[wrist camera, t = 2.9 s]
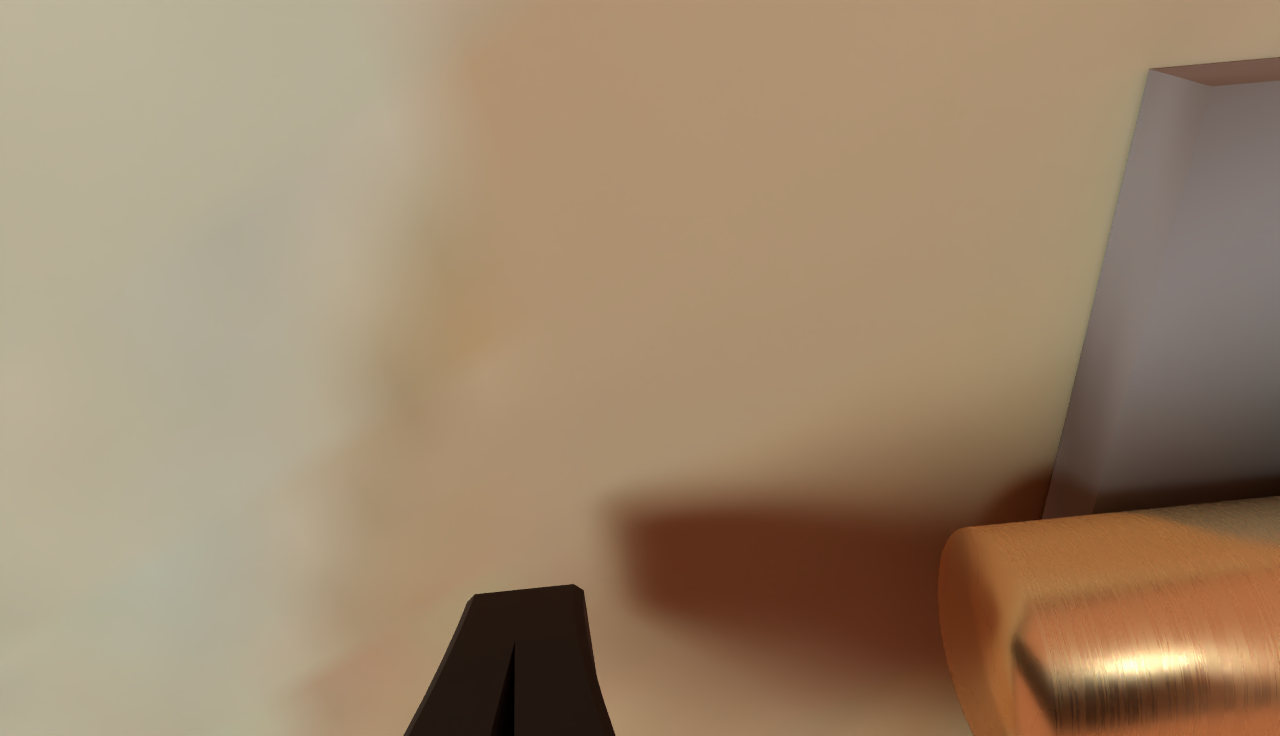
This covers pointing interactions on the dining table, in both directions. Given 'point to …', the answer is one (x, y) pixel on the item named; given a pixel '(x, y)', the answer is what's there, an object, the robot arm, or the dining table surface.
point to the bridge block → (1185, 307)
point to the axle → (1117, 622)
